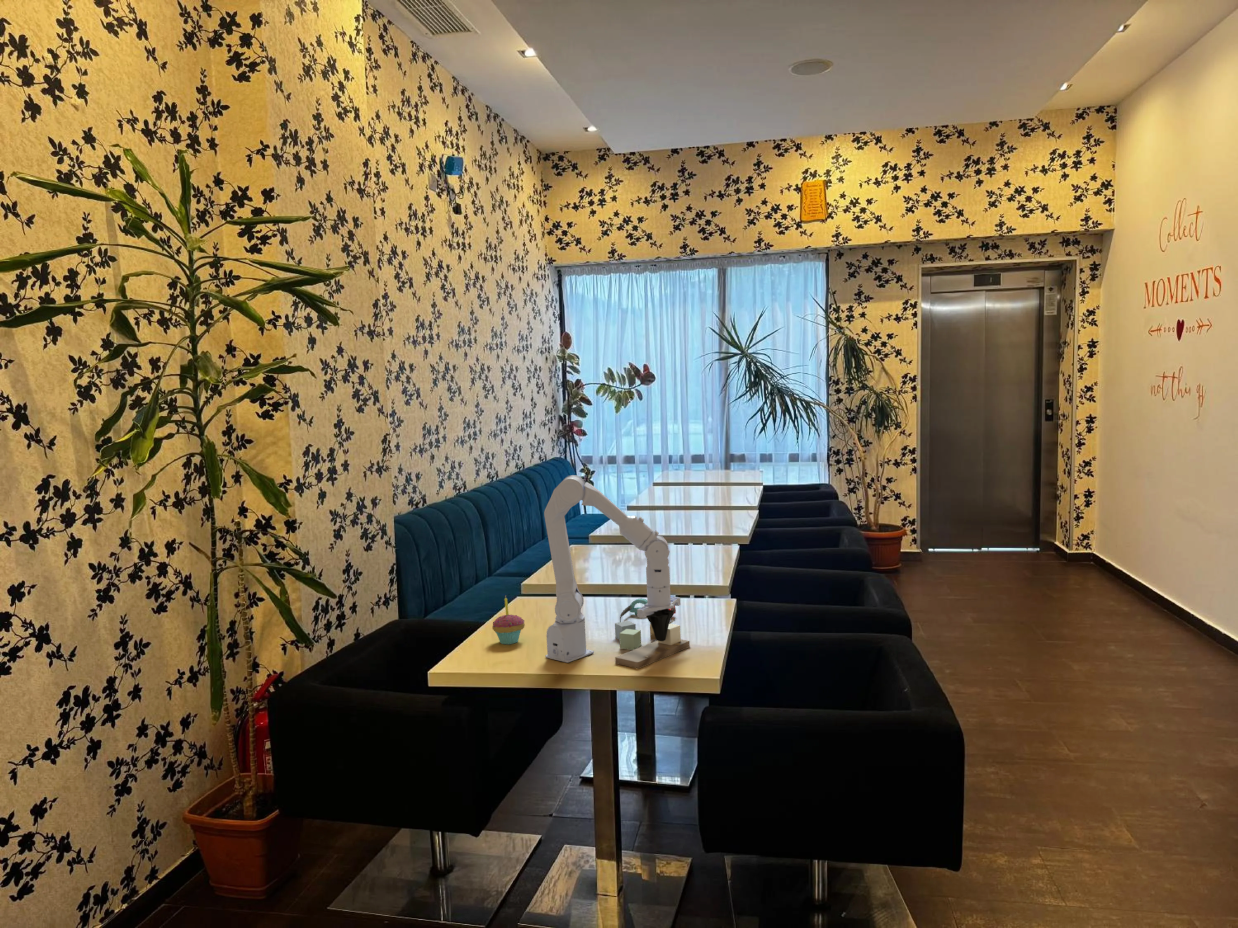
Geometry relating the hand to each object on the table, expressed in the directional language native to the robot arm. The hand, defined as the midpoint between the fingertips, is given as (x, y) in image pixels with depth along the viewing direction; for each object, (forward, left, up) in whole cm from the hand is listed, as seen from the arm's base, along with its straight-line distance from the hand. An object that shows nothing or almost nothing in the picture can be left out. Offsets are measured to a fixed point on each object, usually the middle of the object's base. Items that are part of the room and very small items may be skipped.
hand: (660, 640), depth 208 cm
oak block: (+9, +8, -3) cm, 12 cm away
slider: (+3, 0, -1) cm, 4 cm away
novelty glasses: (+20, +21, -3) cm, 29 cm away
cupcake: (-15, +39, -3) cm, 42 cm away
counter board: (-3, 0, -3) cm, 4 cm away
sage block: (-1, +9, -3) cm, 10 cm away
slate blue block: (+4, +15, -3) cm, 16 cm away
